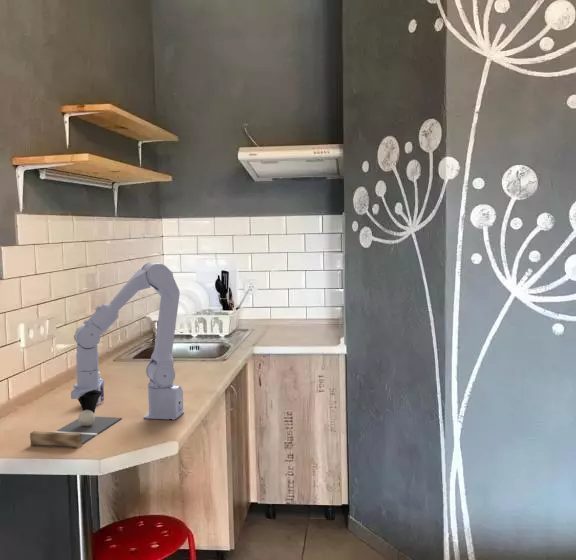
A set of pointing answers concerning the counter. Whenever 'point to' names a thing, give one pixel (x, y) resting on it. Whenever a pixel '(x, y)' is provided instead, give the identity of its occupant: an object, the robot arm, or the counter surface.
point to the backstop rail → (56, 439)
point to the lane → (87, 428)
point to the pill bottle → (101, 398)
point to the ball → (86, 418)
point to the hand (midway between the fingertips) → (88, 418)
